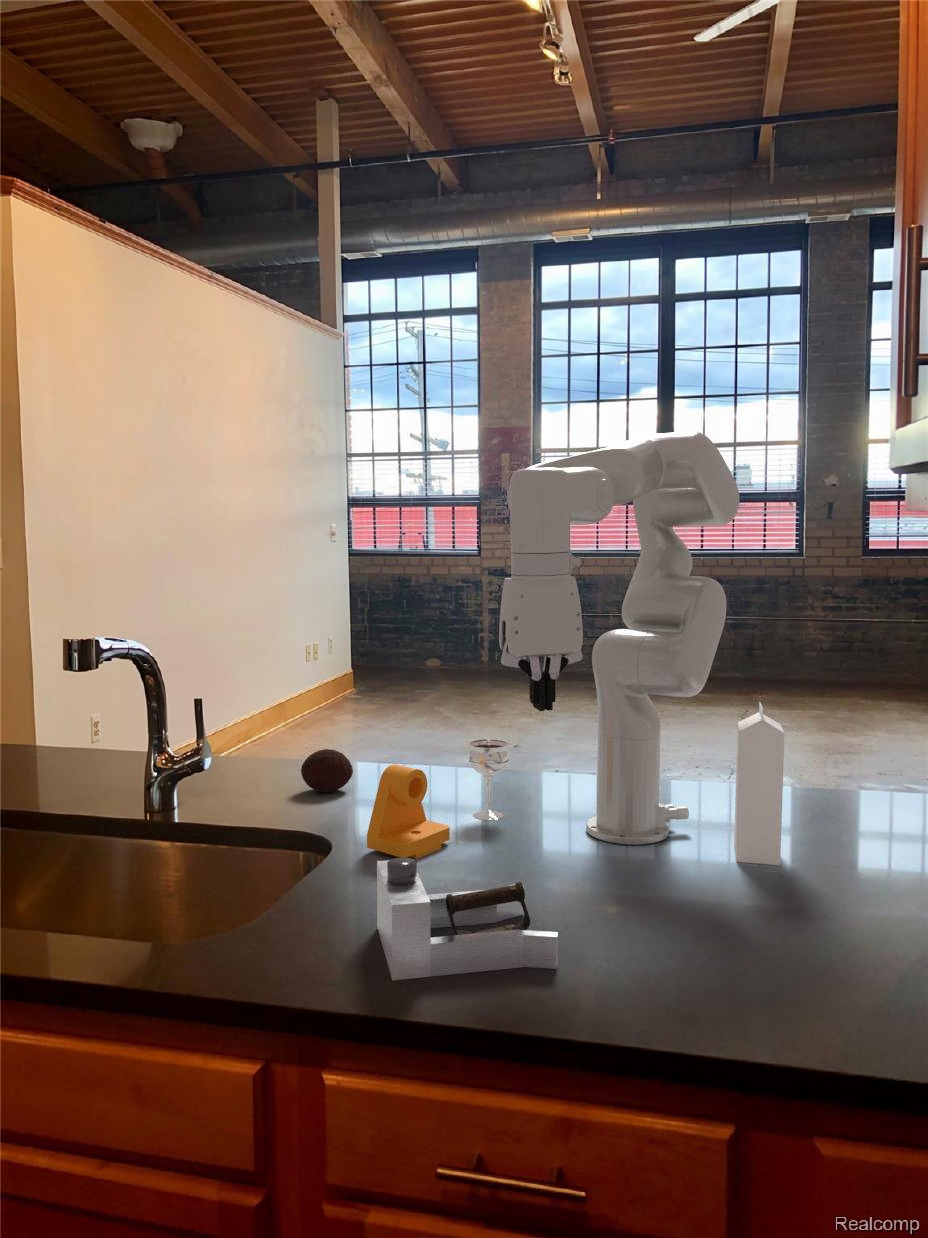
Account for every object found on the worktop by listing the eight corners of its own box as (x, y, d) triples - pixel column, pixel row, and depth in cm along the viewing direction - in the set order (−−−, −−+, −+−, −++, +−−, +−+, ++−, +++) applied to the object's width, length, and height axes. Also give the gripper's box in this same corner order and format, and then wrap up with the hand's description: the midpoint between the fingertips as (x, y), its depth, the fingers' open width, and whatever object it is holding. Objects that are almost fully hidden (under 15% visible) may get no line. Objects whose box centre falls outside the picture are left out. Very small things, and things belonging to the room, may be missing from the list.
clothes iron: (547, 966, 98) (531, 886, 96) (450, 1004, 96) (430, 922, 93) (524, 933, 105) (508, 857, 102) (432, 968, 102) (413, 890, 100)
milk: (735, 862, 128) (739, 708, 126) (733, 848, 134) (736, 700, 132) (781, 866, 126) (785, 710, 124) (777, 851, 132) (781, 702, 130)
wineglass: (465, 821, 146) (465, 747, 145) (469, 808, 153) (470, 738, 152) (507, 822, 146) (508, 749, 144) (510, 810, 152) (510, 739, 151)
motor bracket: (521, 911, 111) (521, 831, 110) (560, 968, 96) (561, 877, 95) (376, 923, 107) (375, 841, 106) (393, 986, 92) (393, 890, 91)
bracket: (404, 864, 127) (403, 780, 126) (367, 853, 131) (366, 772, 130) (452, 844, 135) (452, 765, 134) (415, 834, 140) (415, 758, 139)
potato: (301, 786, 167) (300, 745, 166) (352, 784, 168) (351, 743, 168) (301, 799, 159) (300, 755, 158) (354, 796, 160) (354, 753, 160)
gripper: (584, 562, 120) (585, 698, 122) (476, 567, 116) (479, 707, 119) (607, 566, 113) (608, 710, 115) (492, 571, 109) (495, 719, 112)
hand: (542, 708), depth 117 cm, fingers closed
